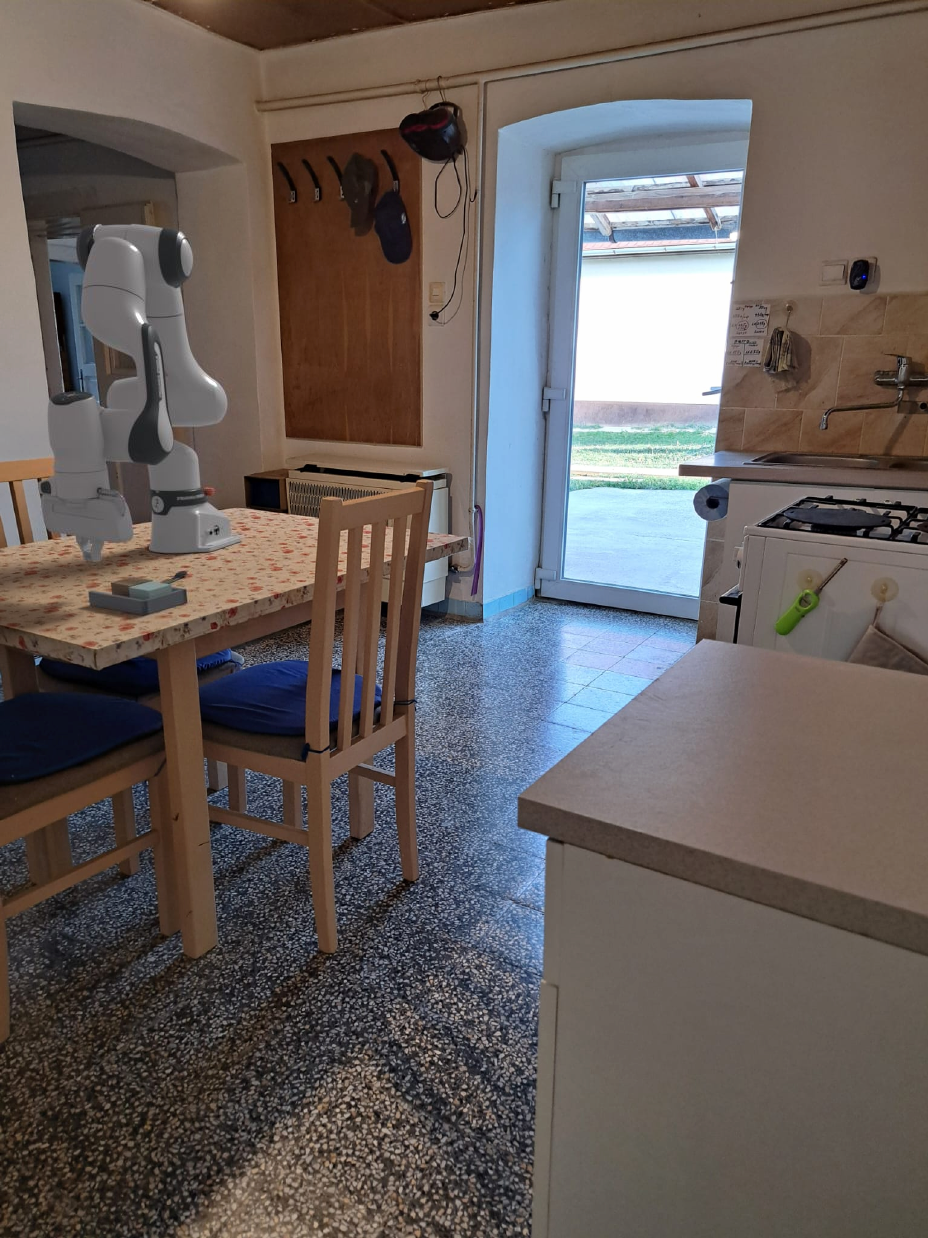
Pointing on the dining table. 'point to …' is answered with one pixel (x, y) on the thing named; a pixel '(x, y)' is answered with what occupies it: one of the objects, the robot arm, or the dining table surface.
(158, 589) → the pale blue cube
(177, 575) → the tactical tomahawk
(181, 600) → the tray
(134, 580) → the brown block
